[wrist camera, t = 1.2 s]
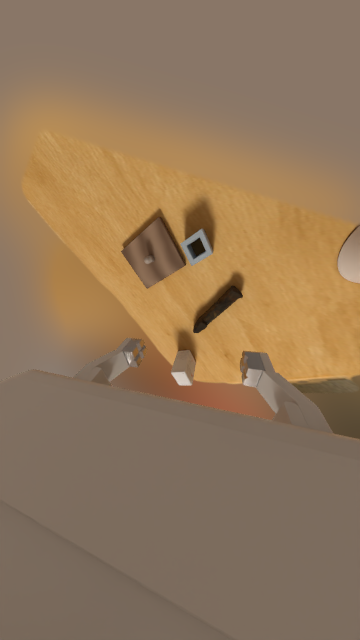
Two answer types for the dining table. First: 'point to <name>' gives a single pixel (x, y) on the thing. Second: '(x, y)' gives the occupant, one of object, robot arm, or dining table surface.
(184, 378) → the small box
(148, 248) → the mounting plate
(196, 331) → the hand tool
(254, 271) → the dining table surface
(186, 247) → the collar
